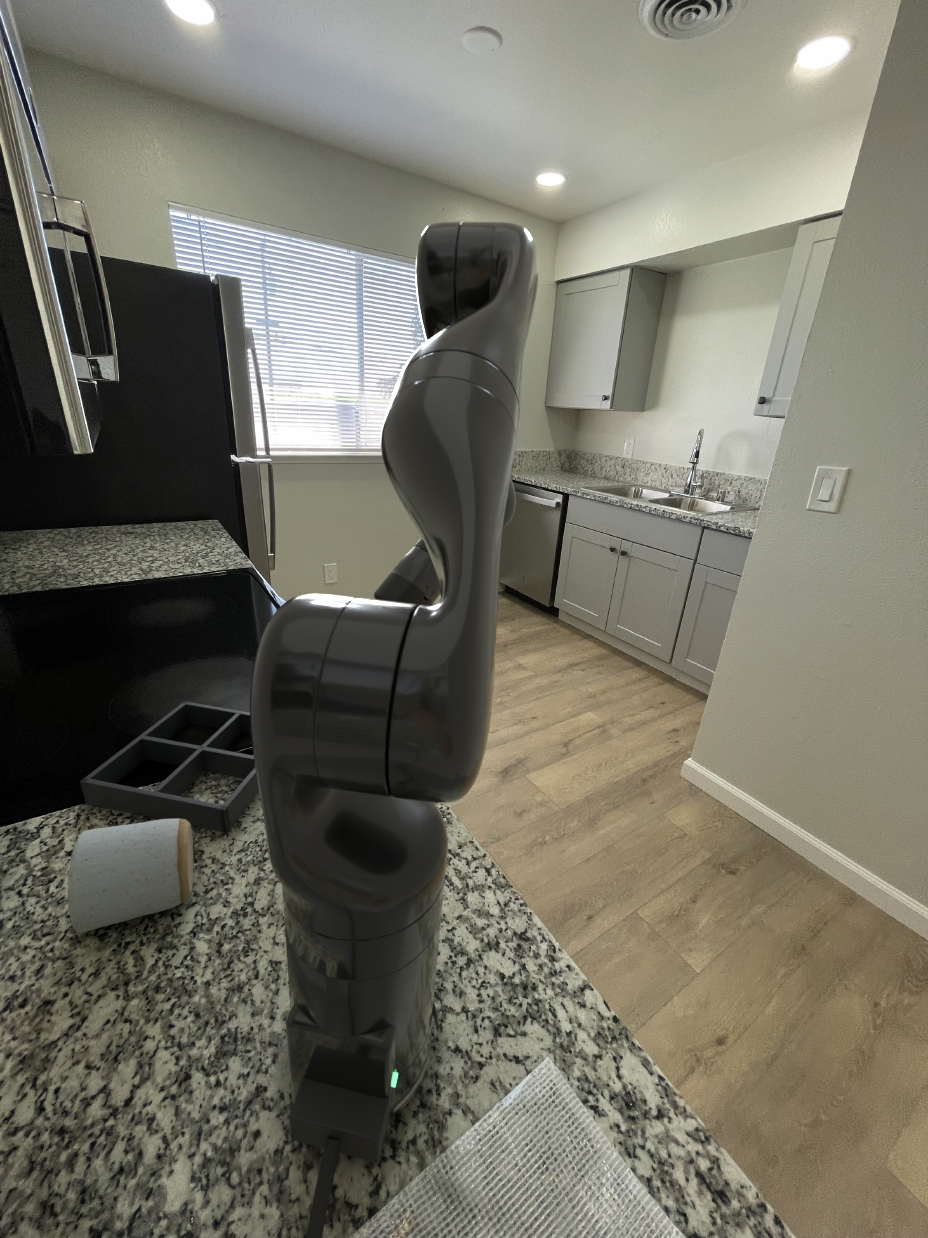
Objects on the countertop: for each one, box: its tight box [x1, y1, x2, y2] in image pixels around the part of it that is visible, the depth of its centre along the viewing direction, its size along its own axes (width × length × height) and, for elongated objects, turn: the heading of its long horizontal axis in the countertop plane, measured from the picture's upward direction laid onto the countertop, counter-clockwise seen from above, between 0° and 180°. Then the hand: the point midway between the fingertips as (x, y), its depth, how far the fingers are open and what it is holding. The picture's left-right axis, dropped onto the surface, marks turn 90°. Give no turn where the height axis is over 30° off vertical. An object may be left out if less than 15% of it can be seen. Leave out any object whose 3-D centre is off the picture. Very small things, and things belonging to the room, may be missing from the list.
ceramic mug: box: [67, 819, 194, 934], centre depth 44 cm, size 11×8×8 cm
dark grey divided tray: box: [79, 700, 260, 833], centre depth 60 cm, size 16×16×3 cm
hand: (342, 677), depth 70 cm, fingers open, 8 cm apart
